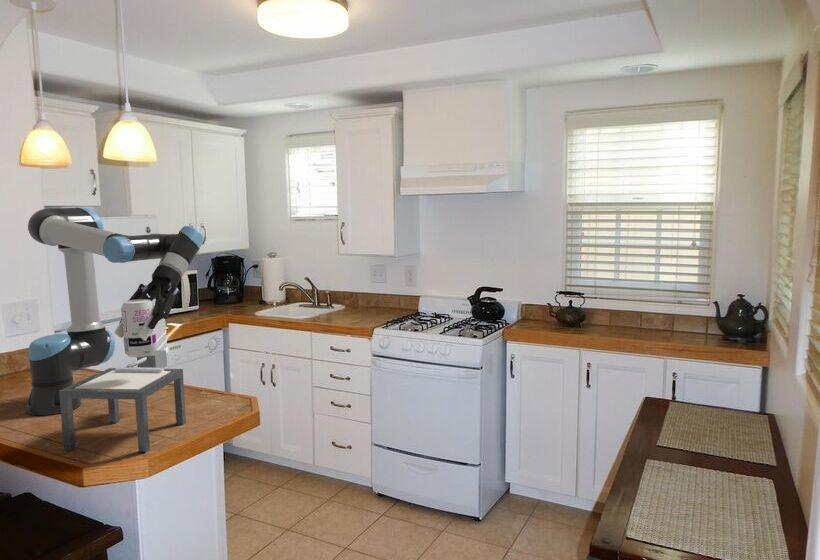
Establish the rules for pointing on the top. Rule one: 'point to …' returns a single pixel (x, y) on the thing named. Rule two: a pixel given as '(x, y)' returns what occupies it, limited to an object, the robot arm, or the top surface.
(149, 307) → the supplement can
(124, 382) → the trapdoor
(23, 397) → the top surface
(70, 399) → the stand
